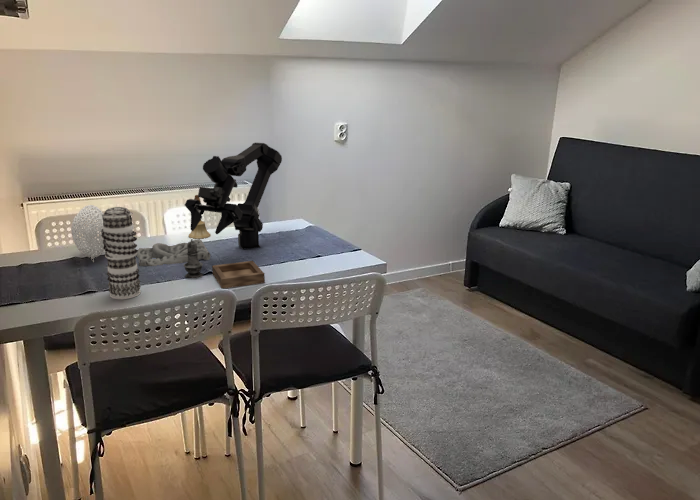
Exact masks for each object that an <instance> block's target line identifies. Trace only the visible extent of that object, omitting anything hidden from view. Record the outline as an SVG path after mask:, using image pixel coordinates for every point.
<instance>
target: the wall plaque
mask: <svg viewBox="0 0 700 500" xmlns="http://www.w3.org/2000/svg"><path fill="white" fill-rule="evenodd" d="M192 241H194V242H196V244H197V252H198V261H199V260H204V261H209V260H210V259H211V253H210V252H209V251H208V249H207V247H206V246H205V243H204V242H203V239H192ZM187 244H188V242H180V243H177V244H172V245H168V244H166V243H160V242H159V243H158V242H157V243H154V244H153V245H152V248H150V247H139V248H138V249H137V250H138V251H137V255H136V256H137V257H138V258H139V259H138V258H137V257H136V256H135V257H136V258H137V259H138V266H139V267H157V265H159V266H164V265H163V264H167V265H173V264H174V265H175V264H176V265H177V264H182V263H183V264H185V263H187V262H188V255H187V252H188V249H187ZM152 258H156V259H152Z"/></svg>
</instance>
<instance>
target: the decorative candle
mask: <svg viewBox="0 0 700 500" xmlns="http://www.w3.org/2000/svg"><path fill="white" fill-rule="evenodd" d="M132 215H133V212H132V211H130V210H129V209H128V208H127V207H125V206H112V207H110V208H107V209H105V211H104V212H103V214H102V215H101V216H102V217H103V229H101V230H102V231H101V232H102V235H101V238H102V237H103V239H104V240H103V244H104V247H103V249H104V257H105V258H106V259H107V260H106V261H107V273H106V276H107V280H108V284H107V287H108V292H109V297H110V298H112V299H113V300H114V299H116V300H128V299H133V298H135V297H137V296H139V295H141V292H142V291H141V287H142V286H141V285H140V284H141V280H140V279H139V278H140V274H139V273H140V269H139V268H138V262H137V257H136V255H137V251H138V249H137V246H138V245H137V244H136V243H135V242H136V241H137V240H138V238H137V237H136V235H137V232H136V231H134V229H135V227H134V223H133V217H132ZM103 231H104V232H103ZM101 232H100V233H101ZM104 235H105V236H104Z"/></svg>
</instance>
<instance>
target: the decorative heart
mask: <svg viewBox="0 0 700 500" xmlns="http://www.w3.org/2000/svg"><path fill="white" fill-rule="evenodd" d="M102 214H104V212H103V211H102V210H101V208H99V207H98V206H96V205H93V204H88V205H85V206H83V207H82V208H81V209H80V210H79V211H78V213H77V214H76V215H75V216H74V217H73V219H72V223H71V227H70V229H71V237H72V240H73V242H74V244H75V247H77V249H78V250H79V251H80V253H82V254H83V255H84V256H86V257H88V258H90V257H91V258H90V259H91V260H92V259H93V260H92V263H94V262H95V260H94V259H96V258H98V257H99V256H100V255H101V254H102V253H103V252H104V251H105V249H103V247H104V244H103V240H104V239H103V237H101V235H102V232H101V231H102V230H101V229H103V217H102V216H101V215H102ZM103 232H104V231H103ZM104 236H105V235H104ZM95 257H96V258H95Z"/></svg>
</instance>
